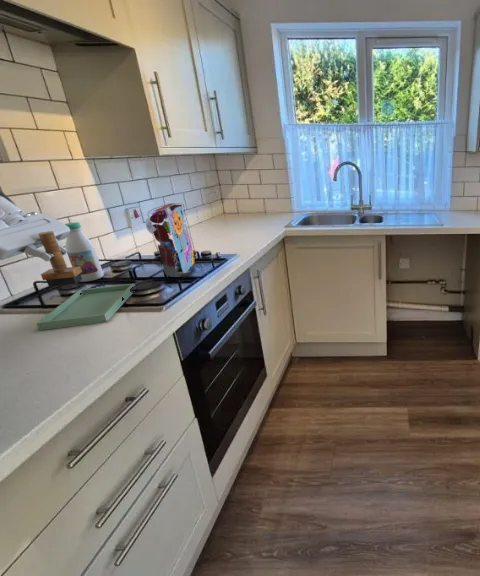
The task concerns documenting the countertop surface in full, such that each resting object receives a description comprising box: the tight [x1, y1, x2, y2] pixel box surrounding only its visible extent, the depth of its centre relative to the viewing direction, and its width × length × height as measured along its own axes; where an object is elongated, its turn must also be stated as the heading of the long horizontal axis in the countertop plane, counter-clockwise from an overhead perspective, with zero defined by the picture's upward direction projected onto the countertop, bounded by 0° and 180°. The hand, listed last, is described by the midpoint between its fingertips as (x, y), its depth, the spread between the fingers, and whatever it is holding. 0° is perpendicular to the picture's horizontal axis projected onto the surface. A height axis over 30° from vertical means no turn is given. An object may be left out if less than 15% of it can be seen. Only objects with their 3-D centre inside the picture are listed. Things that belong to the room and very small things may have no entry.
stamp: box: [39, 231, 82, 288], centre depth 92 cm, size 7×4×14 cm, turn 105°
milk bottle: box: [64, 221, 104, 283], centre depth 126 cm, size 8×8×20 cm
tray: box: [36, 283, 136, 331], centre depth 107 cm, size 16×24×2 cm, turn 16°
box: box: [145, 202, 198, 282], centre depth 124 cm, size 25×6×24 cm, turn 9°
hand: (57, 256), depth 92 cm, fingers closed on stamp, 3 cm apart
